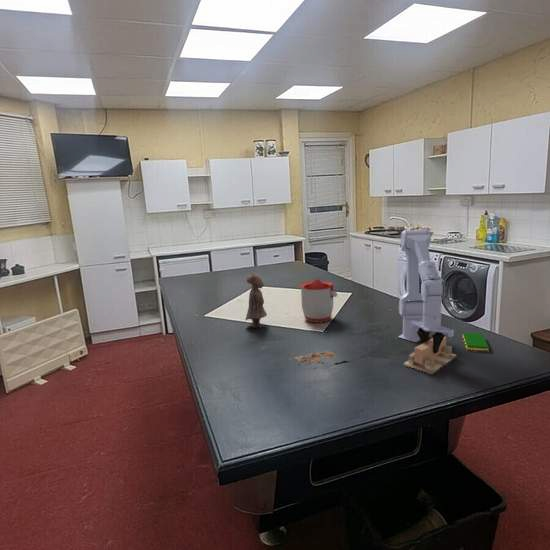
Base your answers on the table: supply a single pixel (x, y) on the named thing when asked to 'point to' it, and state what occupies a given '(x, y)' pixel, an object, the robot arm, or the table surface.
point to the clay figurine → (255, 301)
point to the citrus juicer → (317, 300)
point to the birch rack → (431, 361)
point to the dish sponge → (475, 341)
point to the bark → (315, 356)
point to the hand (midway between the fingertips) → (430, 351)
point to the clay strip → (427, 350)
